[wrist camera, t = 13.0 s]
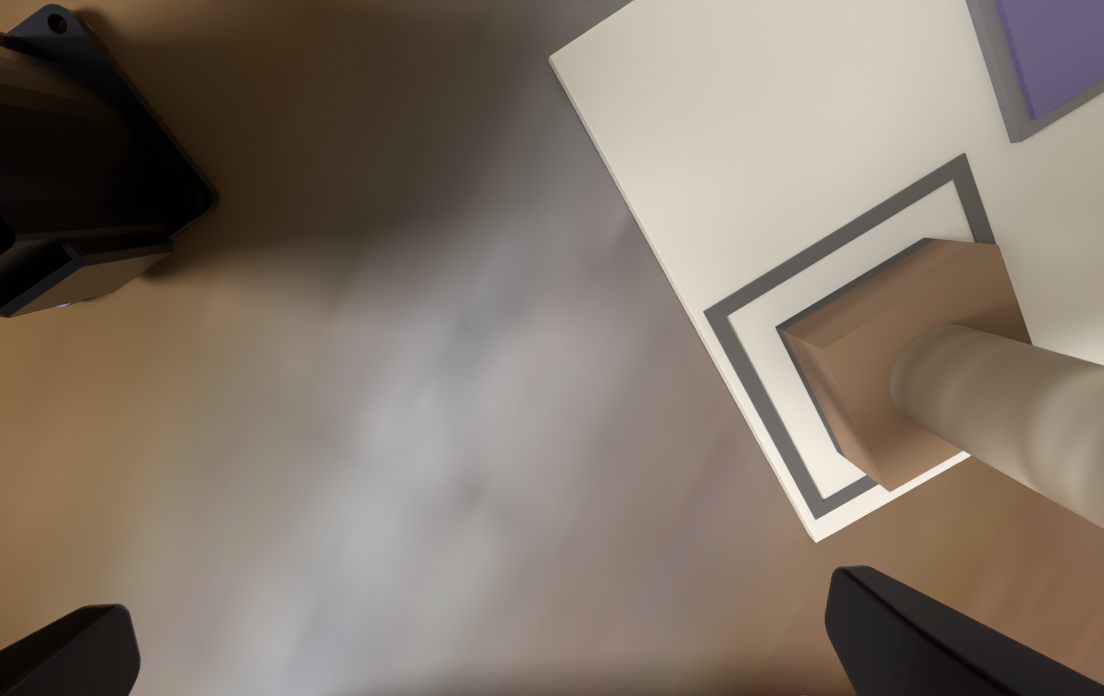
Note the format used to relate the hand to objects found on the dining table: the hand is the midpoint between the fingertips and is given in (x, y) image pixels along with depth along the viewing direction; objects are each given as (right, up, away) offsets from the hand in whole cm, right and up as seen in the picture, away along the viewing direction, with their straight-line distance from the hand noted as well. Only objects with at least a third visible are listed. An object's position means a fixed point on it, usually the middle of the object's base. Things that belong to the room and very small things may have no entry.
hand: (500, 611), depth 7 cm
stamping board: (+15, +10, +12) cm, 21 cm away
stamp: (+13, +3, +13) cm, 19 cm away
